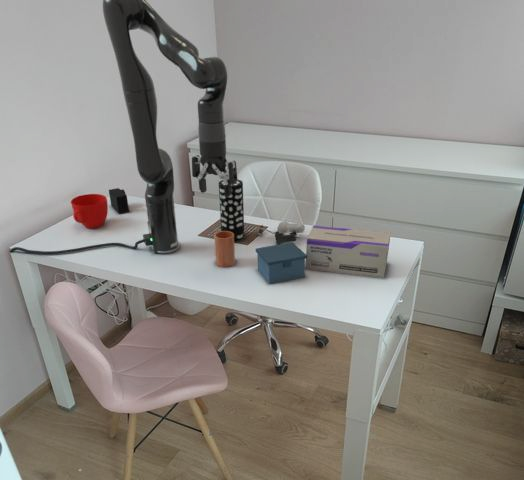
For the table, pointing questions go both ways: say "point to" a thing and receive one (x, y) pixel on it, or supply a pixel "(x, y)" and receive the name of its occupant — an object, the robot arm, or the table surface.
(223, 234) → the tumbler
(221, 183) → the white-spotted black cylinder
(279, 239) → the clip-on lamp
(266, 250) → the storage box
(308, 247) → the surgical sutures box
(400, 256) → the table surface
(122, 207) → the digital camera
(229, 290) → the table surface
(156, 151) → the robot arm
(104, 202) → the ceramic cup
